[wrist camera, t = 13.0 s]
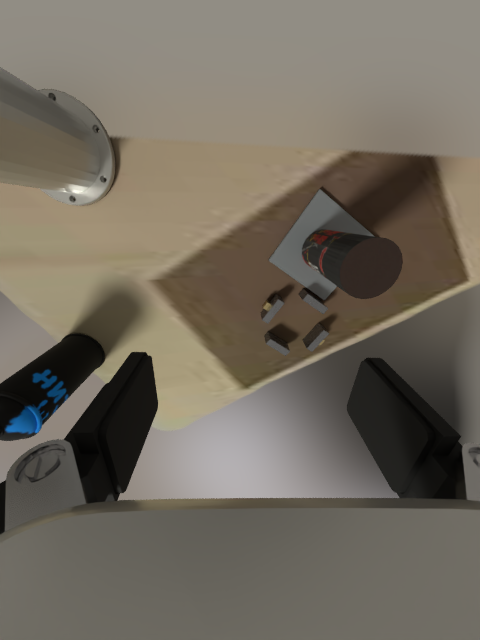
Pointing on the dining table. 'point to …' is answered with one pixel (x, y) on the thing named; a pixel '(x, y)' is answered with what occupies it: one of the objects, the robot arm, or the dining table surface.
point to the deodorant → (354, 261)
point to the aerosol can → (46, 385)
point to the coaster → (313, 218)
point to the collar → (314, 335)
